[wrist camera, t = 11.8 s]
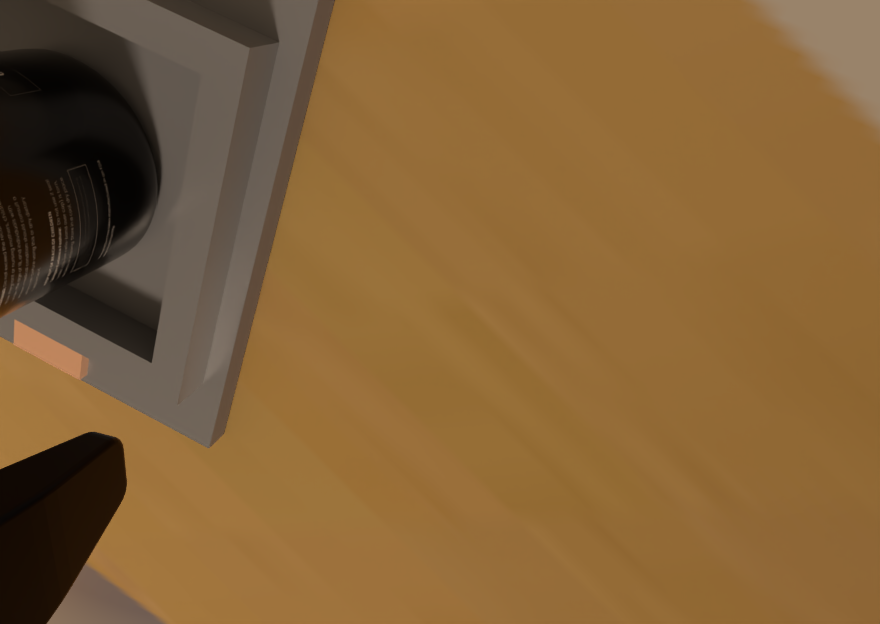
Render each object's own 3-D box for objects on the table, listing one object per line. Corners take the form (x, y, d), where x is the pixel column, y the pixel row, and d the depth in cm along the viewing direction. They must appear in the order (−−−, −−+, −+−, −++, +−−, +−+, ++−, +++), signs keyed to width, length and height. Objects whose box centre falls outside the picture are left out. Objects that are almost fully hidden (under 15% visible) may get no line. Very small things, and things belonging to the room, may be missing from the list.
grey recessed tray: (348, -55, 19) (303, -57, 17) (223, 433, 28) (184, 472, 26) (-89, -248, 20) (-182, -273, 18) (-71, 276, 29) (-131, 301, 27)
